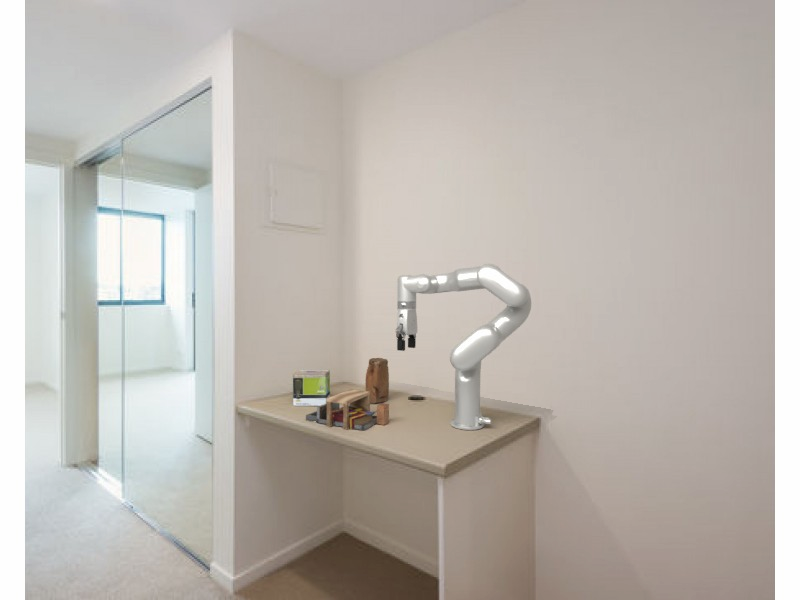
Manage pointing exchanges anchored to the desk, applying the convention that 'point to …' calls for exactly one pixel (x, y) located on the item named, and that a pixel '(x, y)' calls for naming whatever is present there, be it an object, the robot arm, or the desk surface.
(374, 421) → the tray
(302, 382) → the tea box
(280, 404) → the desk surface
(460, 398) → the robot arm
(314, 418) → the gray frame
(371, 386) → the block
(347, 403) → the wooden arch stand
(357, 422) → the decorative book
